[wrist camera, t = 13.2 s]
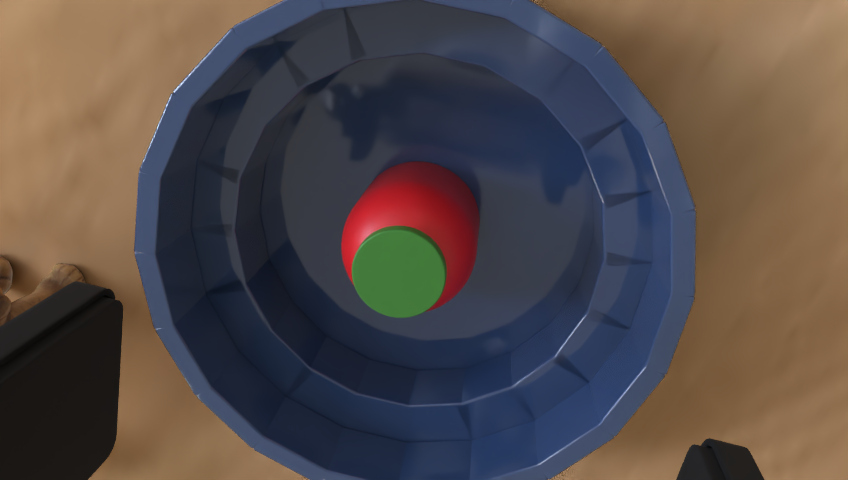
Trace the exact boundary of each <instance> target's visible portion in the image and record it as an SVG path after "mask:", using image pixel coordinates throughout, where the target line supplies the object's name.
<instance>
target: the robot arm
mask: <svg viewBox="0 0 848 480" xmlns="http://www.w3.org/2000/svg"><path fill="white" fill-rule="evenodd" d="M122 321H123V306H122V303H121V302H120V301H119V300H115V295H114V293H113V291H112V290H111V289H107V288H103V287H99V286H95V285H91V284H87V283H83V282H78V281H75V282H72V283H70V284H68V285H67V286H65V287H64V288H62V289H60V290H59V291H57V292H55V293H54V294H52V295H51V296H49V297H47V298H46V299H44V300H43V301H41V302H39V303H38V304H36V305H34V306H33V307H31V308H30V309H28V310H26V311H25V312H23V313H21V314H20V315H18V316H17V317H15V318H13V319H12V320H10V321H8V322H7V323H5V324H4V325H2V326H0V480H88V479H89V478H90V477H91V475H92V474H93V473H94V472H95V471H96V470H97V469H98V468H99V467H100V466H101V465H102V463H103V462H104V461H105V460H106V459H107V458H108V456H109V455H110V453H111V451H112V449H113V447H114V444H115V441H116V435H117V416H118V397H119V378H120V359H121V340H122ZM676 480H764V478H763V476H762V474H761V472H760V471H759V469H758V467H757V465H756V463H755V461H754V459H753V457H752V455H751V453H750V451H749V450H748V449H747V448H745V447H742V446H738V445H734V444H730V443H726V442H722V441H718V440H714V439H710V438H709V439H706V440H705V441H704V442H703V443H702V445H701V446H699V445H695V444H694V445H692V446H691V447H690V448H689V450H688V452H687V454H686V457H685V459H684V462H683V464H682V467H681V469H680V472H679V474H678V477H677V479H676Z"/></svg>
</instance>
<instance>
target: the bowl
mask: <svg viewBox="0 0 848 480" xmlns="http://www.w3.org/2000/svg"><path fill="white" fill-rule="evenodd" d="M414 161H418V162H428V163H433V164H436V165H440V166H442V167H444V168H446V169H448V170H450V171H451V172H453V173H454V174H456V175H457V176H458V177H459V178H460V179H461V180H462V181H463V182H464V183H465V184H466V185H467V186H468V188H469V189H470V191H471V192H472V194H473V196H474V198H475V201H476V203H477V207H478V211H479V218H480V222H479V236H478V246H477V255H476V260H475V264H474V267H473V270H472V273H471V275H470V277H469V279H468V281H467V282H466V284H465V285H464V287H463V288H462V289H461V290H460V291H459V293H458V294H457V295H456V296H455V297H453V298H452V299H451V300H450V301H448V302H447V303H445V304H444V305H442V306H440V307H438V308H436V309H433V310H430V311H427V312H424V313H422V314H419V315H416V316H413V317H408V318H395V317H389V316H386V315H383V314H381V313H378V312H377V311H375V310H373V309H372V308H370V307H369V306H368V305H367V304H366V303H365V302H364V301H363V300H362V299H361V298H360V296H359V294H358V293H357V291H356V289H355V287H354V285H353V283H352V282H351V280H350V278H349V276H348V274H347V272H346V269H345V266H344V263H343V259H342V251H341V242H342V233H343V229H344V225H345V223H346V220H347V218H348V216H349V214H350V212H351V210H352V209H353V207H354V206H355V204H356V203H357V202H358V200H359V199H360V197H361V196H362V195H363V193H364V192H365V190H366V189H367V188H368V186H369V185H370V184H371V182H372V181H373V180H374V179H375V178H376V177H377V176H378V175H380V174H381V173H382V172H384V171H385V170H387V169H389V168H391V167H393V166H395V165H398V164H401V163H406V162H414ZM134 251H135V257H136V261H137V265H138V269H139V272H140V276H141V280H142V284H143V288H144V291H145V295H146V299H147V303H148V307H149V310H150V314H151V318H152V322H153V326H154V328H155V329H156V332H157V334H158V336H159V337H160V339H161V340H162V342H163V344H164V345H165V347H166V349H167V350H168V352H169V354H170V355H171V357H172V358H173V360H174V362H175V363H176V365H177V367H178V368H179V370H180V372H181V373H182V375H183V376H184V378H185V380H186V381H187V383H188V385H189V386H190V388H191V389H192V391H193V393H194V394H195V395H197V398H198V399H199V400H200V401H201V402H203V403H204V404H205V405H206V406H207V407H208V408H209V409H210V410H211V411H212V412H213V413H214V414H215V415H217V416H218V417H219V418H220V419H221V420H222V421H223V422H224V423H225V424H226V425H227V426H228V427H229V428H230V429H232V430H233V431H234V432H235V433H236V434H237V435H238V436H239V437H240V438H241V439H242V440H243V441H244V442H246V443H247V444H248V445H249V446H250V447H251V448H254V450H255V451H257V452H259V453H261V454H263V455H265V456H266V457H268V458H270V459H272V460H274V461H276V462H278V463H280V464H281V465H283V466H285V467H287V468H289V469H291V470H293V471H295V472H296V473H298V474H300V475H302V476H304V477H306V478H308V479H309V480H548V479H551V478H553V477H555V476H556V475H558V474H559V473H561V472H562V471H564V470H565V469H567V468H568V467H570V466H571V465H573V464H575V463H576V462H578V461H579V460H581V459H582V458H584V457H585V456H587V455H588V454H590V453H592V452H593V451H595V450H596V449H598V448H599V447H601V446H602V445H604V444H605V443H607V442H608V441H610V440H612V439H613V438H614V436H616V435H617V434H618V433H619V432H620V430H621V429H622V428H623V427H624V426H625V424H626V423H627V422H628V421H629V419H630V418H631V417H632V416H633V415H634V413H635V412H636V411H637V410H638V408H639V407H640V406H641V405H642V404H643V402H644V401H645V400H646V399H647V397H648V396H649V395H650V394H651V393H652V391H653V390H654V389H655V388H656V387H657V385H658V384H659V383H660V382H661V380H662V379H663V378H664V377H665V374H667V371H668V369H669V366H670V363H671V361H672V358H673V355H674V353H675V350H676V347H677V344H678V342H679V339H680V336H681V334H682V331H683V328H684V326H685V323H686V320H687V318H688V315H689V312H690V310H691V307H692V304H693V302H694V299H695V298H694V295H695V264H696V210H695V204H694V201H693V198H692V195H691V192H690V190H689V187H688V184H687V181H686V178H685V175H684V173H683V170H682V167H681V164H680V161H679V158H678V156H677V153H676V150H675V147H674V144H673V141H672V138H671V136H670V133H669V130H668V127H667V124H666V123H665V122H664V119H663V118H662V116H661V115H660V114H659V113H658V111H657V110H656V109H655V108H654V106H653V105H652V104H651V103H650V102H649V100H648V99H647V98H646V97H645V95H644V94H643V93H642V92H641V91H640V89H639V88H638V87H637V86H636V84H635V83H634V82H633V81H632V80H631V78H630V77H629V76H628V75H627V73H626V72H625V71H624V70H623V68H622V67H621V66H620V65H619V64H618V62H617V61H616V60H615V59H614V57H613V56H612V55H611V54H610V53H609V51H608V50H607V49H606V48H605V47H604V46H602V44H601V43H600V42H598V41H596V40H595V39H593V38H591V37H590V36H588V35H586V34H585V33H583V32H581V31H580V30H578V29H577V28H575V27H573V26H572V25H570V24H568V23H567V22H565V21H563V20H562V19H560V18H558V17H557V16H555V15H554V14H552V13H550V12H549V11H547V10H545V9H544V8H542V7H540V6H539V5H537V4H535V3H534V2H532V1H531V0H283V1H281V2H279V3H277V4H275V5H273V6H271V7H269V8H267V9H265V10H263V11H261V12H259V13H257V14H255V15H253V16H252V17H250V18H248V19H246V20H244V21H242V22H240V23H238V24H236V25H234V27H233V28H231V29H230V30H229V31H228V32H227V33H226V34H225V35H224V36H223V37H222V38H221V39H220V41H219V42H218V43H217V44H216V45H215V46H214V47H213V48H212V49H211V50H210V51H209V52H208V54H207V55H206V56H205V57H204V58H203V59H202V60H201V61H200V62H199V63H198V64H197V66H196V67H195V68H194V69H193V70H192V71H191V72H190V73H189V74H188V75H187V76H186V77H185V79H184V80H183V81H182V82H181V83H180V84H179V85H178V86H177V87H176V88H175V89H174V91H173V93H172V94H171V95H170V97H169V100H168V102H167V105H166V107H165V109H164V112H163V114H162V117H161V119H160V121H159V124H158V126H157V129H156V131H155V133H154V136H153V138H152V141H151V143H150V145H149V148H148V150H147V153H146V155H145V158H144V160H143V162H142V165H141V167H140V171H139V178H138V195H137V212H136V230H135V247H134Z"/></svg>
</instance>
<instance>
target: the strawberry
mask: <svg viewBox="0 0 848 480" xmlns="http://www.w3.org/2000/svg"><path fill="white" fill-rule="evenodd" d="M479 222H480V218H479V211H478V207H477V203H476V201H475V198H474V196H473V194H472V192H471V191H470V189H469V188H468V186H467V185H466V184H465V183H464V182H463V181H462V180H461V179H460V178H459V177H458V176H457V175H456V174H454V173H453V172H451V171H450V170H448V169H446V168H444V167H442V166H440V165H436V164H433V163H428V162H418V161H414V162H406V163H401V164H398V165H395V166H393V167H391V168H389V169H387V170H385V171H384V172H382V173H381V174H380V175H378V176H377V177H376V178H375V179H374V180H373V181H372V182H371V184H370V185H369V186H368V188H367V189H366V190H365V192H364V193H363V195H362V196H361V197H360V199H359V200H358V202H357V203H356V204H355V206H354V207H353V209H352V210H351V212H350V214H349V216H348V218H347V220H346V223H345V225H344V229H343V233H342V242H341V251H342V259H343V263H344V266H345V269H346V272H347V274H348V276H349V278H350V280H351V282H352V283H353V285H354V287H355V289H356V291H357V293H358V294H359V296H360V298H361V299H362V300H363V301H364V302H365V303H366V304H367V305H368V306H369V307H370V308H372V309H373V310H375V311H377V312H378V313H381V314H383V315H386V316H389V317H395V318H408V317H413V316H416V315H419V314H422V313H424V312H427V311H430V310H433V309H436V308H438V307H440V306H442V305H444V304H445V303H447V302H448V301H450V300H451V299H452V298H453V297H455V296H456V295H457V294H458V293H459V291H460V290H461V289H462V288H463V287H464V285H465V284H466V282H467V281H468V279H469V277H470V275H471V273H472V270H473V267H474V264H475V260H476V255H477V246H478V236H479Z"/></svg>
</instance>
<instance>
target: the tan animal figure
mask: <svg viewBox="0 0 848 480" xmlns="http://www.w3.org/2000/svg"><path fill="white" fill-rule="evenodd" d="M12 277H13V272H12V267H11V265H10V263H9V261H8V260H6V259H4V258H3V257H1V256H0V326H2V325H4V324H5V323H7V322H8V321H10V320H12V319H13V318H15V317H17V316H18V315H20V314H21V313H23V312H25V311H26V310H28V309H30V308H31V307H33V306H34V305H36V304H38V303H39V302H41V301H43V300H44V299H46V298H47V297H49V296H51V295H52V294H54V293H55V292H57V291H59V290H60V289H62V288H64V287H65V286H67V285H68V284H70V283H72V282H75V281H78V282H83V283H85V280H84V278H83V275H82V274H81V272H80V271H79V270H78V269H77V268H76V267H74V266H73V265H70V264H56V265H55V266H54V267H53V269H52V271H51V273H50V275H49V276H47V277H46V278H44V279H43V280H42V281H41V282H40V283H39V285H38V286H37V288H36V290H35V291H34V292H33V293H32V294H30V295H27V296H25V297H22V298H20V299H18V300H16V301H14V302H12V303H11V301H10V300H9V298H8V297H6V296H5V295H4V294H5V293H6V292H7V291H8V290H9V289H10V287H11V284H12Z"/></svg>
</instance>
